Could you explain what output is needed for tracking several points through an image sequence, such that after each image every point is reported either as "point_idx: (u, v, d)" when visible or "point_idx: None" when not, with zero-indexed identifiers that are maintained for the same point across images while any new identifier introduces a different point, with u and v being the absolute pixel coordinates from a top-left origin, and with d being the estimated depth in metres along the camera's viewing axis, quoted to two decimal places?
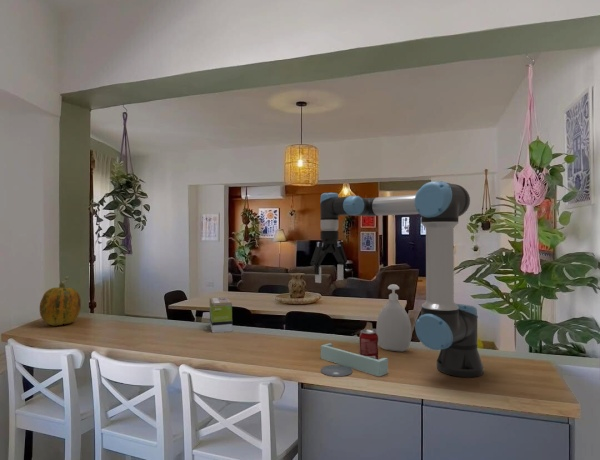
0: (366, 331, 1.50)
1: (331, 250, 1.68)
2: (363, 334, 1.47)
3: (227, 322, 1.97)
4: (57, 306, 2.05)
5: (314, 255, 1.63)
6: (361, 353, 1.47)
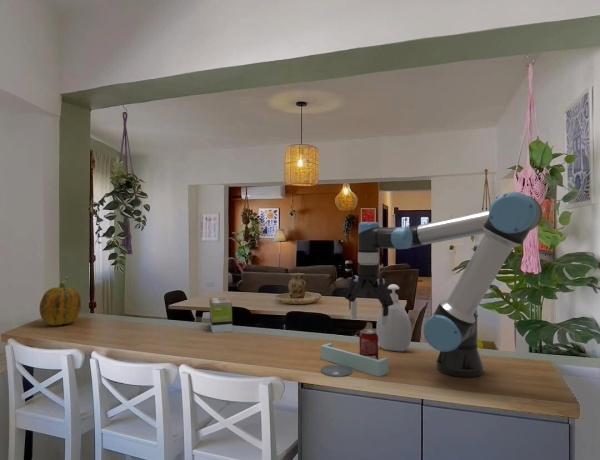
0: (366, 331, 1.50)
1: (366, 287, 1.48)
2: (363, 334, 1.47)
3: (227, 322, 1.97)
4: (57, 306, 2.05)
5: None
6: (361, 353, 1.47)
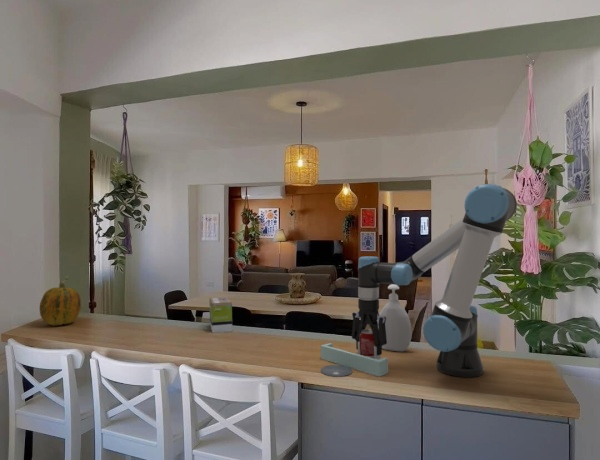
0: (366, 331, 1.50)
1: (366, 321, 1.48)
2: (363, 334, 1.47)
3: (227, 322, 1.97)
4: (57, 306, 2.05)
5: None
6: (361, 353, 1.47)
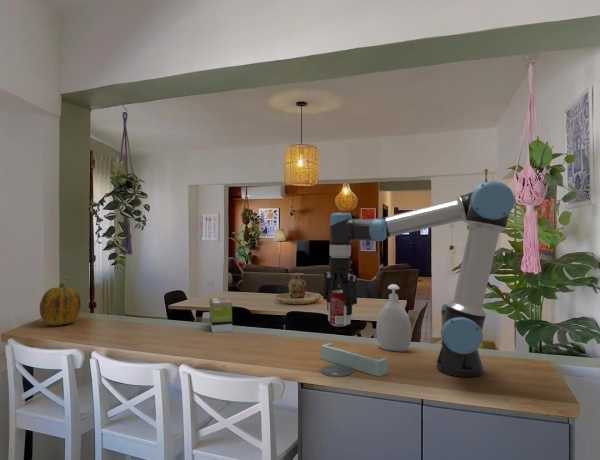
0: (337, 291, 1.44)
1: (337, 280, 1.41)
2: (333, 293, 1.41)
3: (227, 322, 1.97)
4: (57, 306, 2.05)
5: None
6: (331, 313, 1.41)
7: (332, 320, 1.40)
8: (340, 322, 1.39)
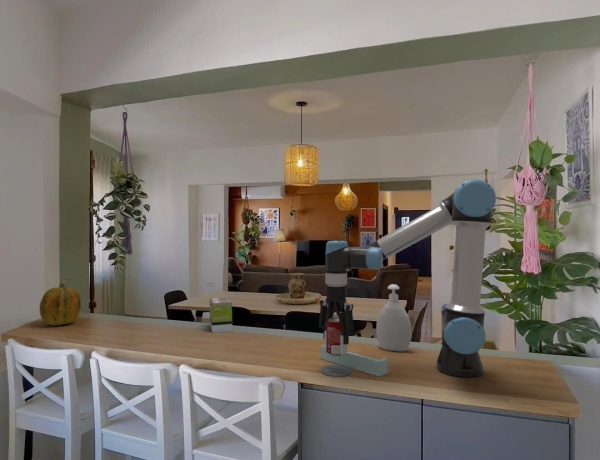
0: (333, 319, 1.42)
1: (333, 309, 1.40)
2: (330, 322, 1.39)
3: (227, 322, 1.97)
4: (57, 306, 2.05)
5: None
6: (327, 342, 1.39)
7: (329, 350, 1.38)
8: (337, 352, 1.37)
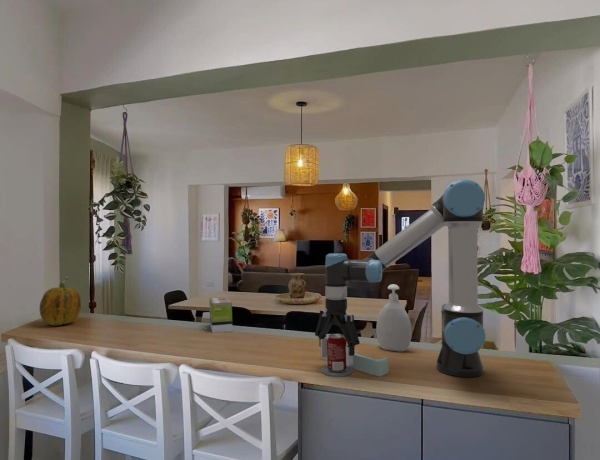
0: (334, 335, 1.42)
1: (334, 322, 1.40)
2: (330, 339, 1.39)
3: (227, 322, 1.97)
4: (57, 306, 2.05)
5: None
6: (328, 359, 1.39)
7: (330, 366, 1.38)
8: (338, 368, 1.37)
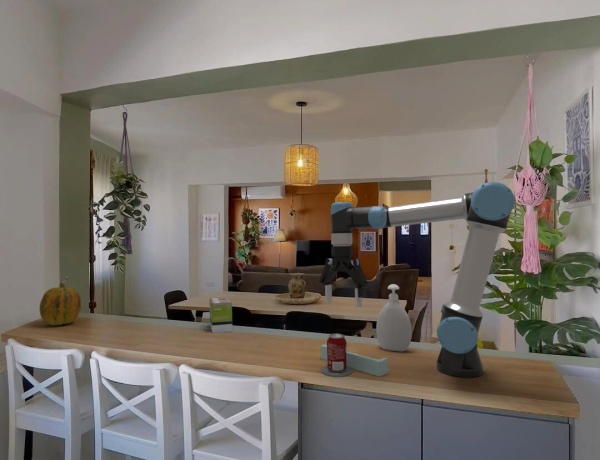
0: (334, 335, 1.42)
1: (340, 269, 1.44)
2: (330, 339, 1.39)
3: (227, 322, 1.97)
4: (57, 306, 2.05)
5: None
6: (328, 359, 1.39)
7: (330, 366, 1.38)
8: (338, 368, 1.37)
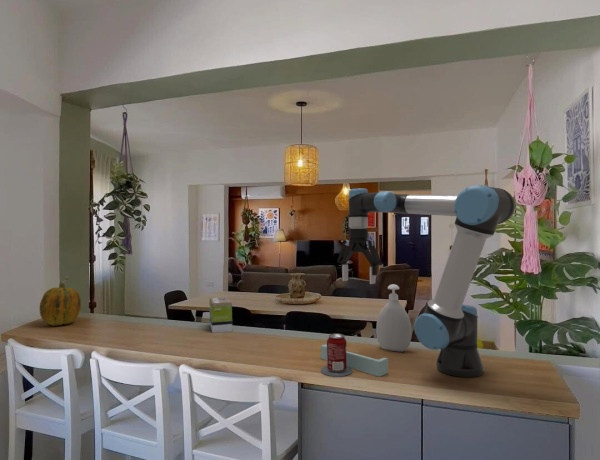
0: (334, 335, 1.42)
1: (356, 249, 1.58)
2: (330, 339, 1.39)
3: (227, 322, 1.97)
4: (57, 306, 2.05)
5: None
6: (328, 359, 1.39)
7: (330, 366, 1.38)
8: (338, 368, 1.37)
